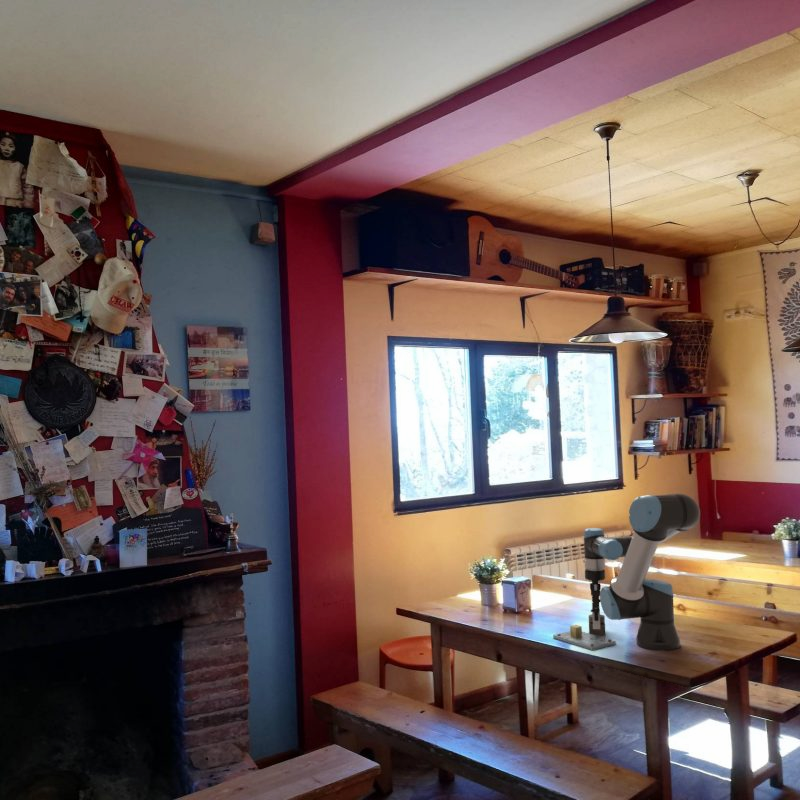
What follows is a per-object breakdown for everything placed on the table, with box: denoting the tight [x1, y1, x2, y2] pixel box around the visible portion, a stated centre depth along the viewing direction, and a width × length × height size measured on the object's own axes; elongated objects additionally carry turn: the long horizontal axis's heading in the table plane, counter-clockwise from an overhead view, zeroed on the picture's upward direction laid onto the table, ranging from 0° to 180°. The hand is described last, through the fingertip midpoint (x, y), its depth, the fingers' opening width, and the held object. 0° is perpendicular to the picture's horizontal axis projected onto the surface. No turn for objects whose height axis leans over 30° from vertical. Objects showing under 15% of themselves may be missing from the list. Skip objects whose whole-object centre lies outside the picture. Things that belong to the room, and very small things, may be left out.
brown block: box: [588, 613, 606, 636], centre depth 304 cm, size 6×6×7 cm
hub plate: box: [552, 624, 617, 651], centre depth 294 cm, size 20×12×5 cm, turn 32°
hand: (596, 624), depth 305 cm, fingers open, 13 cm apart
